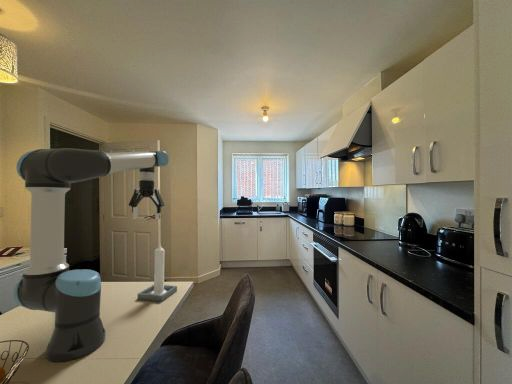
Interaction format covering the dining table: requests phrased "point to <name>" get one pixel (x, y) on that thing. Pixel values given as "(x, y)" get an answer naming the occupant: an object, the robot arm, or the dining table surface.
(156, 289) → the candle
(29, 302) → the robot arm
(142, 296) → the tray
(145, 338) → the dining table surface
